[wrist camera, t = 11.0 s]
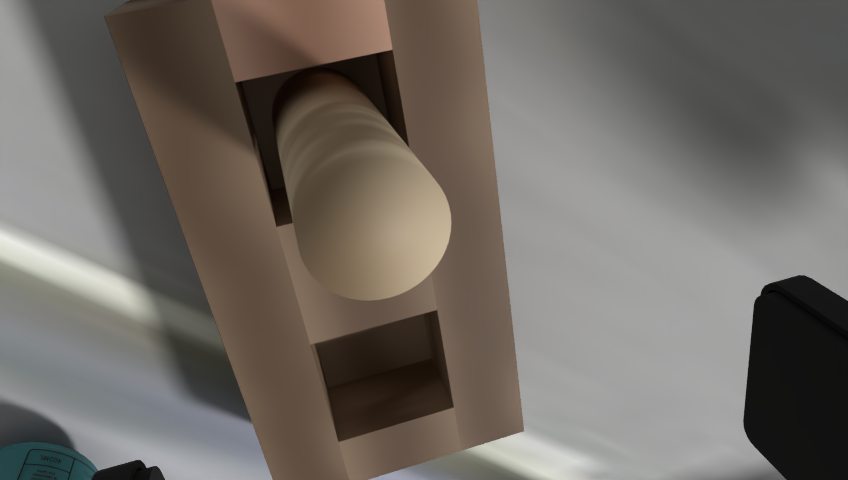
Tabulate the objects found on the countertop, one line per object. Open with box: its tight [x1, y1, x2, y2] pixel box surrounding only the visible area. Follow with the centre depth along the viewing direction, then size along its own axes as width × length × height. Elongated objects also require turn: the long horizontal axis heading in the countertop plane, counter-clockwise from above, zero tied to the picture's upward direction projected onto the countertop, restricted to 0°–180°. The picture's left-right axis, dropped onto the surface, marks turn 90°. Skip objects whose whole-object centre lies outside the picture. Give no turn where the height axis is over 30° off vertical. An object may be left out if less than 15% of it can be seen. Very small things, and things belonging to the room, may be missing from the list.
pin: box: [272, 68, 451, 301], centre depth 22 cm, size 4×4×12 cm
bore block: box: [105, 0, 524, 480], centre depth 28 cm, size 12×22×5 cm, turn 9°
